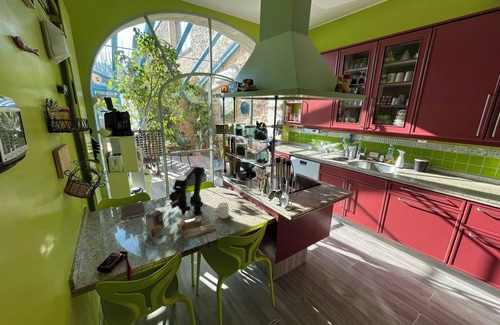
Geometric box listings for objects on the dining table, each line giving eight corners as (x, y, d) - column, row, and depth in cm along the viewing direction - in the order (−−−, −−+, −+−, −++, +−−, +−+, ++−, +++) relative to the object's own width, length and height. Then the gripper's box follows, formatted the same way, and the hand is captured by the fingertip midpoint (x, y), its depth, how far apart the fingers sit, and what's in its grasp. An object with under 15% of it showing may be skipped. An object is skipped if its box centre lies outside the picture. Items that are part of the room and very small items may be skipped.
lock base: (177, 226, 151) (177, 224, 150) (205, 217, 163) (205, 216, 162) (185, 240, 135) (185, 238, 134) (215, 230, 147) (215, 228, 146)
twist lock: (200, 219, 156) (199, 214, 155) (202, 222, 152) (202, 217, 151) (179, 225, 148) (179, 220, 147) (181, 229, 144) (181, 223, 143)
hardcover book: (142, 204, 185) (142, 201, 184) (145, 215, 166) (145, 212, 166) (122, 208, 177) (122, 205, 176) (122, 220, 158) (122, 217, 157)
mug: (215, 220, 159) (214, 208, 157) (212, 215, 167) (212, 204, 164) (229, 217, 164) (229, 206, 161) (226, 213, 171) (226, 201, 169)
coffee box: (160, 229, 145) (158, 209, 141) (164, 233, 142) (162, 212, 137) (147, 235, 139) (144, 214, 134) (151, 239, 135) (149, 217, 131)
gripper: (167, 193, 151) (169, 212, 155) (173, 203, 136) (175, 223, 140) (182, 190, 157) (183, 208, 161) (190, 199, 142) (191, 219, 146)
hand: (183, 214), depth 151 cm, fingers closed
